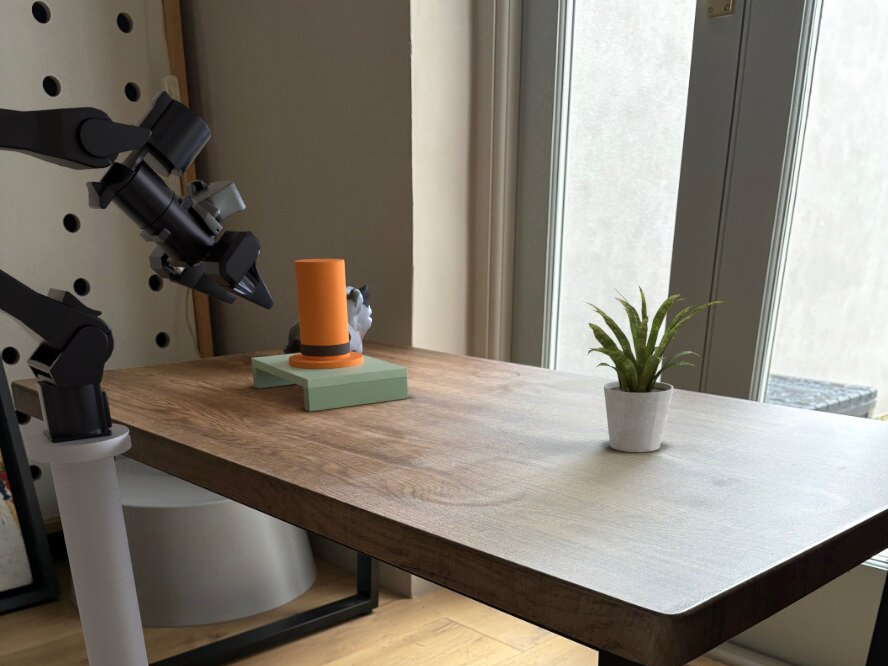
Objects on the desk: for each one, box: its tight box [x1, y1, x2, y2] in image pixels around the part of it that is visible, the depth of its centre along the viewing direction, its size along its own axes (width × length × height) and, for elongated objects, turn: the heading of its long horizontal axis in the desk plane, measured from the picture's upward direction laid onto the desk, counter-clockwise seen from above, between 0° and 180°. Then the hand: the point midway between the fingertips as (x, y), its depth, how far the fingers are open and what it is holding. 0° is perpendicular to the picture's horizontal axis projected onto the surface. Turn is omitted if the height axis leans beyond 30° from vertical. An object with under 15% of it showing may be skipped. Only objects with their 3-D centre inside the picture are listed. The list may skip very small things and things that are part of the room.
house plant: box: [583, 285, 729, 453], centre depth 95 cm, size 14×14×16 cm
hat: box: [289, 258, 364, 369], centre depth 123 cm, size 10×10×13 cm
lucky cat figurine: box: [282, 284, 373, 355], centre depth 149 cm, size 15×12×14 cm
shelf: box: [250, 351, 409, 412], centre depth 126 cm, size 14×20×4 cm
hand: (252, 303), depth 115 cm, fingers open, 9 cm apart
